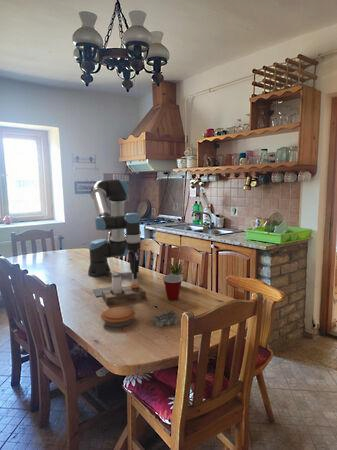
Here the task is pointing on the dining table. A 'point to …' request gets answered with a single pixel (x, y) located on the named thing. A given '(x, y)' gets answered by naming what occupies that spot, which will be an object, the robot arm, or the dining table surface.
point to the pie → (118, 316)
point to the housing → (123, 295)
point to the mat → (100, 291)
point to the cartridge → (116, 283)
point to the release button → (134, 286)
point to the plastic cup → (172, 286)
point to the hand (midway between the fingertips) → (135, 284)
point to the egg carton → (166, 318)
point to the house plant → (176, 269)
